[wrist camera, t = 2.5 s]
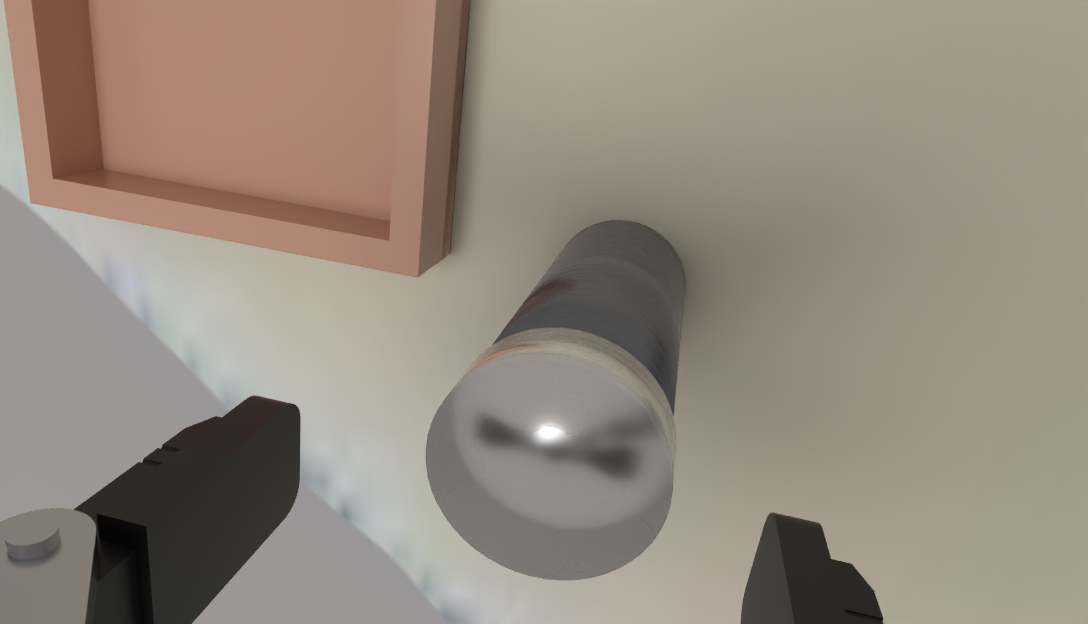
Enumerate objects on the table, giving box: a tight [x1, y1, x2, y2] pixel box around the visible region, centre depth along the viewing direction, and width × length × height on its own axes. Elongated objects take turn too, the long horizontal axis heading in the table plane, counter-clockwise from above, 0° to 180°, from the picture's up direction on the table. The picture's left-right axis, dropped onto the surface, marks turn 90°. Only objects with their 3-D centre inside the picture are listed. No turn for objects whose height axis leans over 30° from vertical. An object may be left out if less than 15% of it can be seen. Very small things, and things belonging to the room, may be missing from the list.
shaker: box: [426, 220, 685, 580], centre depth 19 cm, size 5×5×12 cm
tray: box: [4, 0, 470, 277], centre depth 23 cm, size 14×12×3 cm
